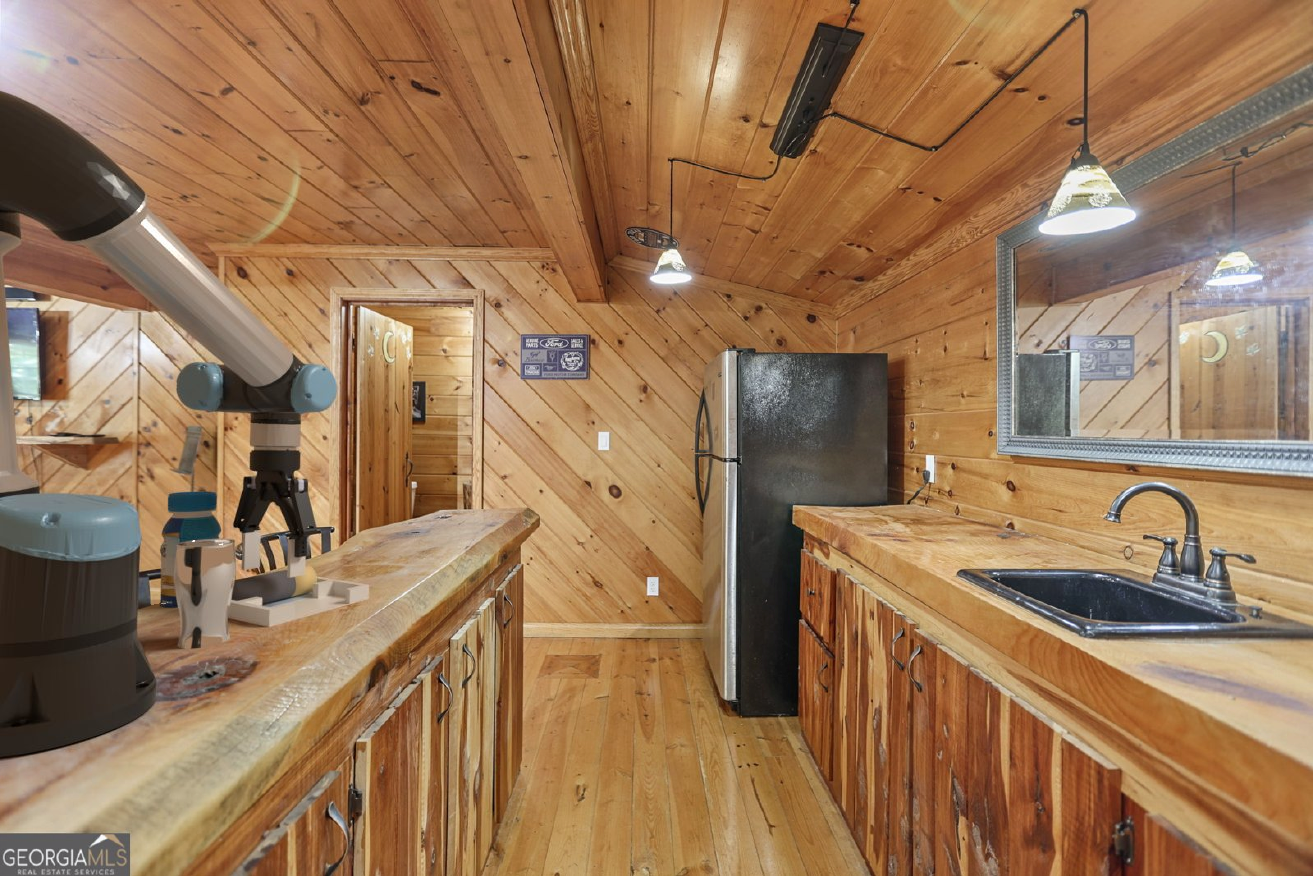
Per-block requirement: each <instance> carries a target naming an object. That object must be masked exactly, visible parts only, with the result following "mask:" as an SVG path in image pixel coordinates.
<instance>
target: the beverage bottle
mask: <svg viewBox="0 0 1313 876" xmlns="http://www.w3.org/2000/svg"><path fill="white" fill-rule="evenodd" d="M217 502H218V495H217V492H215V491H209V490H208V491H205V490H204V491H203V490H201V491H198V490H197V491H181V492H180V491H179V492H178V491H177V492H171V493H169V494H168V497H167V511H168V513H169V514H172V515H171V517H170V518H169V519H168V520H167V521H166V523H165V525H164V526H163V528H162V531H161V537H162V538H163V542H162V543H161V545H160V548H159V551H160V552H159V553H160V599H159V600H160V602H159V607H161V608H167V609H176V608H177V609H178V604H177V599H176V594H175V586H174V568H175V558H176V551H177V544H179V543H182V542H187V541H193V540H203V539H221V538H220V537H219V536H220V534H221V532H222V528H221V523H219V520H218V519H217V517H216V516H215V515H214V514H213V513H212V512H214V511H216V510H217V507H218V506H217V505H218V503H217ZM167 602H168V603H167ZM161 603H166V604H161Z"/></svg>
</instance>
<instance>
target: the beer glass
mask: <svg viewBox="0 0 1313 876" xmlns="http://www.w3.org/2000/svg"><path fill="white" fill-rule="evenodd" d="M236 577H237V555H236V540H235V539H232V538H220V539H203V540H193V541H187V542H182V543H179V544H177V551H176V558H175V568H174V586H175V594H176V599H177V604H178V608H177V609H178V613H179V619H180V630H179V631H180V633H179V637H178V641H177V644H176V645H177V647H178V648H180V649H186V650H191V649H192V650H193V649H202V648H208V647H212V646H217V645H221V644H223V643H225V642H228V641H229V640H230V638H231V635H230V631H229V622H228V621H229V618H228V613H229V608H230V603H231V599H232V594H233V590H234V585H235V580H237V578H236Z"/></svg>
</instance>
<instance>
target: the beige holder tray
mask: <svg viewBox="0 0 1313 876" xmlns="http://www.w3.org/2000/svg"><path fill="white" fill-rule="evenodd" d="M369 599H370V584H367V583H360V582H356V581H355V582H354V581H347V580H341V579H335V578H330V577H329V578H327V577H323V576H317V583H313V591H312V592H310V593H306V594H302V595H298V596H294V597H290V598H286V599H281V600H277V601H273V602H269V603H265V604H262V598H261V597H252V598H248V599H244V600H239V601H235V600H231V603H230V608H229V613H228V619H231V620H236V621H239V622H246V623H250V624H253V625H259V626H262V627H268V628H270V627H273V626H278V625H281V624H285V623H288V622H292V621H295V620H299V619H302V618H306V617H309V616H313V615H316V614H319V613H324V612H327V611H330V610H334V609H338V608H341V607H345V606H349V605H351V604H354V603H360V602H362V601H366V600H369Z"/></svg>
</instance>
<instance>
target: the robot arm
mask: <svg viewBox="0 0 1313 876" xmlns="http://www.w3.org/2000/svg"><path fill="white" fill-rule="evenodd" d="M20 215H23V216H26V218H27V217H28V218H29V219H32V220H34V221H36V222H37V223H39V224H41V225H42V226H44V227H46V228H47V229H48V230H49V231H51V232H52V233H53V234H54V235H55V236H56V237H57V238H59V239H60V240H62V241H63V242H64V243H66V244H72V245H81V246H84V247H85V248H86V249H87V250H89V251H90V253H92V254H94V255H95V256H96V257H97V258H98V259H99V260H101V261H102V262H103V263H104V264H105V265H106V266H107V267H109V268H110V269H111V270H112V271H113V272H115V273H116V274H117V275H118V276H120V278H122V279H123V280H124V281H125V282H126V283H128V284H129V285H130V286H131V287H133V289H134V290H136V291H137V292H139V293H140V295H142V296H143V297H144V298H145V299H146V300H148V301H149V302H150V303H151V304H152V305H154V306H155V307H156V308H157V309H158V310H159V311H160V312H162V313H163V314H164V315H165V316H167V317H168V318H169V319H170V320H171V321H173V323H175V324H176V325H177V326H178V327H180V328H181V329H182V330H183V331H184V332H186V333H187V334H188V335H189V336H191V337H192V338H193V339H194V340H195V341H196V342H197V343H199V345H200V346H202V347H204V348H205V350H207V351H208V352H209V353H211V355H213V356H214V357H215V358H217V360H219V362H221V363H223V364H220V363H217V362H212V361H211V362H204V361H202V362H201V361H194V362H191V363H189V364H186V365H184V367H183V368H182V369H181V370H180V372H179V373H178V376H177V378H176V381H175V382H176V390H175V391H176V394H177V397H178V399H179V401H180V402H181V404H183V406H185V407H186V408H188V409H189V410H195V411H203V412H205V413H211V412H212V413H213V412H215V413H216V412H217V413H233V414H234V413H235V414H239V413H240V414H249V415H250V416H249V417H250V427H249V428H250V429H249V430H250V431H249V446H250V447H253V449H252V450H251V451H249V469H250V471H252V472H255V473H256V474H255V475H249V476H247V475H246V476H244V477H243V480H242V491H241V494H240V497H239V501H238V505H237V509H236V511H235V516H234V520H233V523H232V526H233V528H234V529H239V532H240V533H241V570H242V571H245V570H246V571H247V570H252V569H257V568H260V566H261V533H262V532H261V527H260V524H261V523H262V520H263V519H264V517H265V515H266V512H267V510H268V509H269V506H270V504H271V503H274V505H275V506H277V507H279V510H280V512H281V514H282V516H283V519H284V521H285V524H286V526H287V528H288V530H289V533H290V535H289V536H288V537H287V569H286V570H287V577H290V578H291V577H295V576H300V575H305V566H307V565H306V559H307V558H306V557H307V555H308V539H309V537H310V536H312V535H316V534H317V533H318V528H317V523H316V519H315V516H314V511H313V507H312V504H311V503H312V502H311V500H310V494H309V481H308V479H307V478H295V472H298V471H299V470H300V469H301V455H302V454H301V452H300V450H299V449H298V450H297V448H299V447H300V446H301V435H302V433H301V432H302V431H301V426H302V415H303V414H308V413H321V412H324V411H326V410H328V409H329V408H331V406H333V403H334V402H335V400H336V397H337V394H338V384H337V379H336V378H335V375H334V374H333V372H332V371H331V370H330V369H329V368H328V367H326V366H324V365H322V364H317V363H312V362H307V363H304V362H303V361H301V360H300V358H298V356H297V355H296V354H294V353H293V352H292V351H291V350H290V349H289V348H288V347H287V346H286V344H284V343H283V341H281V340H280V339H279V337H278V336H276V335H275V334H274V333H273V332H272V330H270V329H269V327H268V326H266V324H264V323H263V322H262V321H261V319H259V317H257V316H256V314H254V313H253V312H252V311H251V309H249V308H248V307H247V306H246V305H245V304H244V303H243V301H241V299H239V297H237V295H235V294H234V293H233V292H232V290H230V288H229V287H227V285H226V284H225V283H224V282H222V280H220V279H219V278H218V276H216V275H215V274H214V272H212V271H211V269H210V268H209V267H207V265H205V264H204V262H203V261H201V260H200V259H199V258H198V256H197V255H195V254H194V252H193V251H191V250H190V249H189V247H188V246H186V244H184V243H183V241H182V240H181V239H179V237H177V236H176V235H175V233H174V232H173V231H171V230H170V229H169V227H167V226H166V225H165V223H163V221H161V219H160V218H159V217H158V216H156V214H155V213H153V212H152V210H151V209H149V208H148V194H147V192H145V191H144V189H143V188H142V187H140V185H139V184H138V183H136V181H135V180H133V178H132V177H130V176H129V175H128V174H127V172H126V171H124V169H122V168H121V167H120V166H119V165H118V164H117V163H116V162H115V161H114V160H113V159H112V158H110V157H109V156H108V155H107V154H106V153H105V152H104V151H102V150H101V149H100V148H99V147H98V146H96V145H95V144H94V143H92V142H91V141H90V140H88V139H87V137H84V136H83V135H82V134H81V133H80V132H79V131H77V130H75V129H74V128H73V127H71V126H69V125H68V124H67V123H65V122H64V121H62V120H61V119H60V118H58V117H57V116H55V115H53V114H51V113H50V112H48V111H46V110H45V109H43V108H41V107H40V106H38V105H36V104H34V103H32V102H29V101H27V100H25V99H22V98H21V97H18V96H16V95H13V94H11V93H8V92H6V91H2V90H0V757H1V758H2V757H10V756H19V755H25V754H31V753H36V752H40V751H45V750H51V749H54V748H59V747H62V746H66V745H70V744H74V743H76V742H80V741H84V740H86V739H90V738H93V737H96V736H99V735H102V734H104V733H107V732H110V731H112V730H114V729H117V728H119V727H122V726H123V725H126V724H128V723H130V722H132V721H134V720H136V719H137V718H140V717H141V716H143V715H144V714H146V713H147V712H148V711H149V710H151V709H152V707H153V706H154V705H155V704H156V702H157V685H158V684H157V679H156V675H155V673H154V671H153V669H152V666H151V663H150V661H149V660H148V657H147V655H146V652H145V650H144V647H143V646H142V645H143V644H142V643H141V641H140V638H139V636H138V611H139V609H138V607H139V589H140V588H139V584H140V564H141V563H140V559H141V543H142V541H143V540H142V539H143V538H142V537H143V535H142V533H141V525H140V516H139V512H138V510H137V508H136V507H135V506H134V505H133V504H131V503H130V502H128V501H126V500H124V499H123V500H122V499H121V498H115V497H111V496H105V495H97V494H88V493H87V494H86V493H85V494H74V493H70V492H69V493H63V492H61V493H60V492H58V493H57V492H54V493H51V492H48V493H47V492H46V493H45V492H43V493H40V492H41V491H40V489H41V488H40V482H39V481H38V480H37V479H35V478H33V477H31V476H30V475H28V474H26V473H25V472H23V471H22V470H21V469H20V467H19V459H18V444H17V429H16V418H15V417H16V416H15V405H14V404H15V403H14V392H13V378H12V367H11V352H10V342H9V341H10V340H9V339H10V338H9V327H8V325H9V324H8V313H7V312H8V311H7V299H6V297H7V296H6V288H5V273H4V260H3V258H4V256H5V255H6V254H8V253H9V252H11V251H13V250H14V249H16V248H17V247H20V245H21V244H22V233H21V218H20Z"/></svg>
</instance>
